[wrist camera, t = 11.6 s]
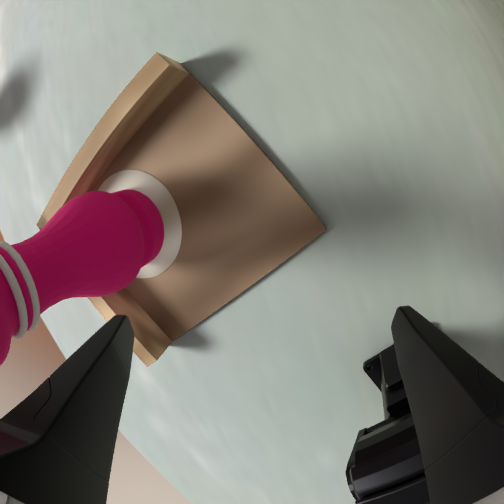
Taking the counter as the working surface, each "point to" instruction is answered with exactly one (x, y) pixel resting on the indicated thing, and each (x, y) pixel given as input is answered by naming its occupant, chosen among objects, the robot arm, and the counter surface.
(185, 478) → the counter surface
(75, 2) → the counter surface
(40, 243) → the pepper mill
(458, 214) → the counter surface
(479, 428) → the robot arm
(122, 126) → the brown flat rimmed piece
